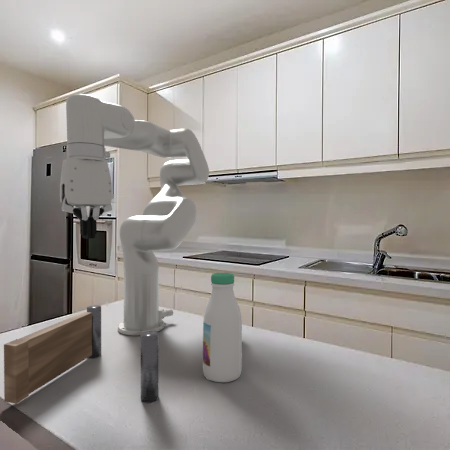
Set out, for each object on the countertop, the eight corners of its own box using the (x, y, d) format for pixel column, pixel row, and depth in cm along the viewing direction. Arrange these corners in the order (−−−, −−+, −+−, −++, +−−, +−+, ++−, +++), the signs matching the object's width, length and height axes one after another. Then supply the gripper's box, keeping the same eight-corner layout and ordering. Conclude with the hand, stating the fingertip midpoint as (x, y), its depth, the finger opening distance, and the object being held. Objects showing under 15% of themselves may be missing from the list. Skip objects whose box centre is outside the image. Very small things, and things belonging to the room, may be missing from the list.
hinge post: (98, 351, 75) (97, 304, 75) (103, 355, 73) (103, 307, 73) (84, 355, 73) (84, 307, 73) (90, 359, 71) (89, 309, 70)
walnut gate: (93, 355, 71) (93, 312, 71) (16, 403, 52) (15, 345, 52) (84, 353, 71) (84, 311, 71) (4, 401, 53) (3, 344, 53)
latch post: (152, 391, 58) (152, 330, 58) (161, 397, 56) (161, 334, 56) (137, 397, 56) (137, 334, 56) (146, 404, 54) (146, 339, 54)
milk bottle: (246, 368, 67) (246, 272, 67) (235, 386, 60) (235, 278, 59) (211, 362, 70) (211, 270, 69) (196, 379, 62) (196, 276, 62)
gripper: (110, 160, 79) (112, 235, 80) (43, 152, 68) (46, 239, 69) (126, 156, 74) (127, 236, 75) (55, 148, 63) (58, 241, 64)
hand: (88, 238), depth 72 cm, fingers closed
